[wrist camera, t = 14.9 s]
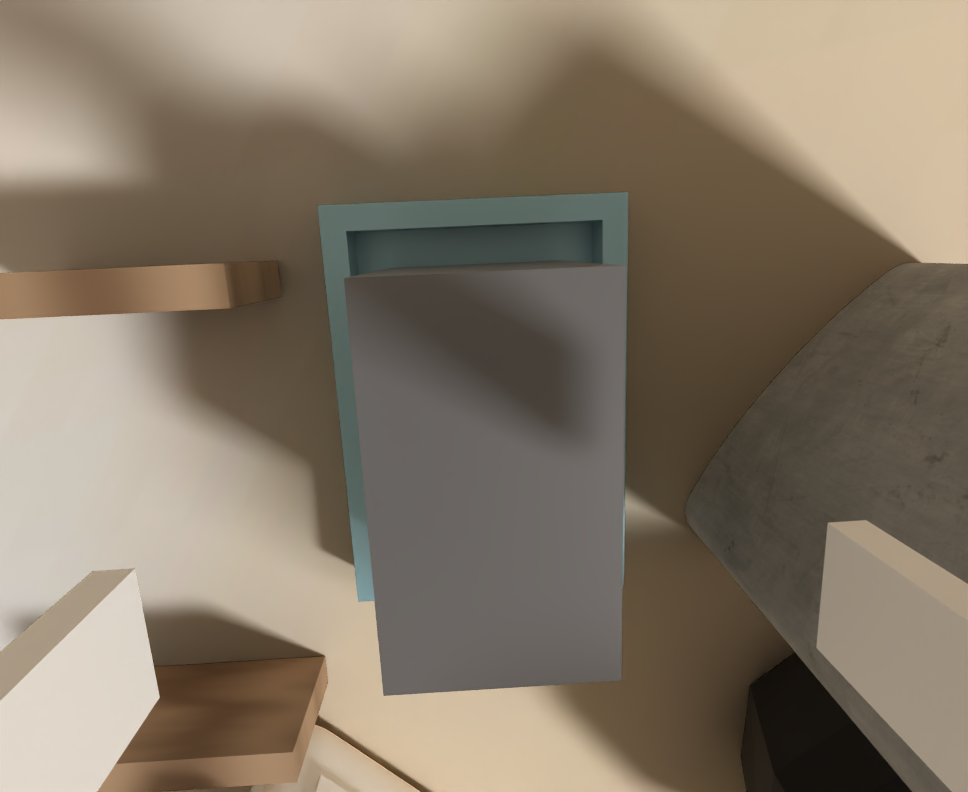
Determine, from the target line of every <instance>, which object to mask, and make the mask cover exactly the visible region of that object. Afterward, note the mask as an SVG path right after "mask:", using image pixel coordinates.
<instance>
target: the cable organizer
mask: <svg viewBox="0 0 968 792" xmlns="http://www.w3.org/2000/svg"><path fill="white" fill-rule="evenodd" d="M250 792H420V791H419V790H417V789H416V788H414V787H413V786H411V785H410V784H408V783H407V782H405V781H404V780H402V779H401V778H399V777H398V776H396V775H395V774H393V773H392V772H390V771H389V770H387V769H386V768H384V767H383V766H381V765H380V764H378V763H377V762H375V761H374V760H372V759H371V758H369V757H368V756H366V755H365V754H363V753H362V752H360V751H359V750H357V749H356V748H354V747H353V746H351V745H350V744H348V743H347V742H345V741H344V740H342V739H341V738H339V737H338V736H336V735H335V734H333V733H332V732H330V731H328V730H327V729H325V728H323V727H320V726H318V725H315V726H314V729H313V732H312V736H311V739H310V742H309V745H308V749H307V752H306V755H305V758H304V762H303V765H302V768H301V771H300V775H299V778H298V781H297V782H295V783H281V784H266V785H252V788H251V791H250Z"/></svg>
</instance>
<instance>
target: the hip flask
mask: <svg viewBox="0 0 968 792" xmlns="http://www.w3.org/2000/svg"><path fill="white" fill-rule="evenodd" d="M685 516H686V520H687V522H688V524H689V526H690V527H691V529H692V530H693V531H694V532H695V533H696V535H697V536H698V537H699V538H700V539H701V541H702V542H703V543H704V544H705V545H706V546H707V548H708V549H709V550H710V551H711V552H712V554H713V555H714V556H715V557H716V558H717V560H718V561H719V562H720V563H721V564H722V566H723V567H724V568H725V569H726V570H727V572H728V573H729V574H730V575H731V576H732V577H733V579H734V580H735V581H736V582H737V583H738V585H739V586H740V587H741V588H742V589H743V591H744V592H745V593H746V594H747V595H748V597H749V598H750V599H751V600H752V601H753V603H754V604H755V605H756V606H757V607H758V608H759V610H760V611H761V612H762V613H763V614H764V616H765V617H766V618H767V619H768V620H769V622H770V623H771V624H772V625H773V626H774V628H775V629H776V630H777V631H778V632H779V634H780V635H781V636H782V637H783V638H784V640H785V641H786V642H787V643H788V644H789V645H790V647H791V648H792V649H793V650H794V651H795V653H796V654H797V655H798V656H799V657H800V659H801V660H802V661H803V662H804V663H805V665H806V666H807V667H808V668H809V669H810V671H811V672H812V673H813V674H814V675H815V676H816V678H817V679H818V680H819V681H820V682H821V684H822V685H823V686H824V687H825V688H826V690H827V691H828V692H829V693H830V694H831V696H832V697H833V698H834V699H835V700H836V702H837V703H838V704H839V705H840V706H841V707H842V709H843V710H844V711H845V712H846V713H847V715H848V716H849V717H850V718H851V719H852V721H853V722H854V723H855V724H856V725H857V727H858V728H859V729H860V730H861V731H862V733H863V734H864V735H865V736H866V737H867V738H868V740H869V741H870V742H871V743H872V744H873V746H874V747H875V748H876V749H877V750H878V752H879V753H880V754H881V755H882V756H883V758H884V759H885V760H886V761H887V762H888V764H889V765H890V766H891V767H892V768H893V769H894V771H895V772H896V773H897V774H898V775H899V777H900V778H901V779H902V780H903V781H904V783H905V784H906V785H907V786H908V787H909V789H910V790H911V791H912V792H952V791H951V790H950V789H949V788H948V787H947V786H946V785H945V784H944V783H943V782H942V781H941V780H940V779H939V778H938V777H937V776H936V774H935V773H934V772H933V771H932V770H931V769H930V768H929V767H928V766H927V765H926V764H925V763H924V762H923V761H922V760H921V758H920V757H919V756H918V755H917V754H916V753H915V752H914V751H913V750H912V749H911V748H910V747H909V746H908V745H907V744H906V743H905V741H904V740H903V739H902V738H901V737H900V736H899V735H898V734H897V733H896V732H895V731H894V730H893V729H892V728H891V727H890V726H889V724H888V723H887V722H886V721H885V720H884V719H883V718H882V717H881V716H880V715H879V714H878V713H877V712H876V711H875V710H874V709H873V707H872V706H871V705H870V704H869V703H868V702H867V701H866V700H865V699H864V698H863V697H862V696H861V695H860V694H859V693H858V692H857V690H856V689H855V688H854V687H853V686H852V685H851V684H850V683H849V682H848V681H847V680H846V679H845V678H844V677H843V676H842V675H841V673H840V672H839V671H838V670H837V669H836V668H835V667H834V666H833V665H832V664H831V663H830V662H829V661H828V660H827V659H826V658H825V656H824V655H823V654H822V653H821V652H820V651H819V650H818V649H817V648H816V645H817V634H818V623H819V612H820V602H821V591H822V580H823V569H824V558H825V547H826V536H827V525H828V523H830V522H845V521H860V520H867V521H868V522H870V523H871V524H873V525H875V526H876V527H878V528H879V529H881V530H883V531H884V532H886V533H887V534H889V535H891V536H892V537H894V538H895V539H897V540H898V541H900V542H902V543H903V544H905V545H906V546H908V547H910V548H911V549H913V550H914V551H916V552H918V553H919V554H921V555H922V556H924V557H926V558H927V559H929V560H930V561H932V562H933V563H935V564H937V565H938V566H940V567H941V568H943V569H945V570H946V571H948V572H949V573H951V574H953V575H954V576H956V577H957V578H959V579H961V580H962V581H964V582H965V583H967V584H968V264H945V263H905V264H901V265H898V266H896V267H894V268H892V269H891V270H889V271H888V272H887V273H885V274H884V275H883V276H882V277H880V278H879V279H878V280H876V281H875V282H874V283H873V284H871V285H870V286H869V287H868V288H867V289H865V290H864V291H863V292H862V293H861V294H859V295H858V296H857V297H856V298H855V299H854V300H852V301H851V302H850V303H849V304H848V305H847V306H845V307H844V308H843V309H842V310H841V311H840V312H839V313H838V314H837V315H836V316H835V317H834V318H832V319H831V320H830V321H829V322H828V323H827V324H826V325H825V326H824V327H823V328H822V329H821V330H820V331H819V332H818V333H817V334H816V335H815V336H814V337H813V338H812V339H811V340H810V341H809V342H808V343H807V344H806V345H805V346H804V347H803V348H802V349H801V350H800V351H799V352H798V353H797V354H796V355H795V356H794V357H793V358H792V359H791V361H790V362H789V363H788V364H787V365H786V366H785V367H784V368H783V369H782V371H781V372H780V373H779V374H778V375H777V376H776V377H775V378H774V380H773V381H772V382H771V383H770V384H769V385H768V387H767V388H766V389H765V390H764V391H763V392H762V393H761V395H760V396H759V397H758V398H757V399H756V401H755V402H754V403H753V404H752V406H751V407H750V408H749V409H748V410H747V412H746V413H745V414H744V415H743V417H742V418H741V419H740V421H739V422H738V423H737V425H736V426H735V427H734V429H733V430H732V431H731V433H730V434H729V435H728V437H727V438H726V439H725V441H724V442H723V444H722V445H721V447H720V448H719V449H718V451H717V452H716V454H715V455H714V457H713V458H712V460H711V461H710V463H709V464H708V466H707V467H706V469H705V471H704V472H703V474H702V475H701V477H700V479H699V480H698V482H697V484H696V485H695V487H694V489H693V490H692V492H691V494H690V495H689V497H688V500H687V502H686V507H685Z"/></svg>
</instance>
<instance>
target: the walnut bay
mask: <svg viewBox="0 0 968 792" xmlns="http://www.w3.org/2000/svg"><path fill="white" fill-rule="evenodd" d="M280 296H281V288H280V279H279V271H278V263H277V261H263V262H238V263H214V264H192V265H170V266H148V267H125V268H103V269H81V270H59V271H37V272H14V273H0V319H16V318H38V317H59V316H80V315H101V314H123V313H144V312H165V311H186V310H208V309H229V308H234V307H238V306H242V305H247V304H251V303H255V302H259V301H263V300H268V299H272V298H276V297H280ZM154 670H155V675H156V680H157V686H158V691H159V696H160V698H159V699H158V701H157V702H156V704H155V705H154V707H153V708H152V710H151V711H150V713H149V714H148V716H147V717H146V719H145V720H144V722H143V723H142V725H141V726H140V728H139V729H138V731H137V732H136V734H135V735H134V737H133V738H132V740H131V741H130V743H129V744H128V746H127V747H126V749H125V750H124V752H123V753H122V755H121V757H120V758H119V760H118V761H117V763H116V764H115V766H114V767H113V769H112V770H111V772H110V773H109V775H108V776H107V778H106V779H105V781H104V782H103V784H102V785H101V787H100V788H99V790H98V791H97V792H163V791H178V790H193V789H207V788H222V787H237V786H251V785H266V784H281V783H295V782H297V781H298V778H299V775H300V771H301V768H302V765H303V762H304V758H305V755H306V752H307V749H308V745H309V742H310V739H311V736H312V732H313V729H314V726H315V723H316V720H317V716H318V713H319V710H320V707H321V703H322V700H323V697H324V694H325V690H326V687H327V684H328V676H327V668H326V660H325V656H321V657H305V658H289V659H273V660H257V661H241V662H225V663H209V664H193V665H177V666H161V667H154Z"/></svg>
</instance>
